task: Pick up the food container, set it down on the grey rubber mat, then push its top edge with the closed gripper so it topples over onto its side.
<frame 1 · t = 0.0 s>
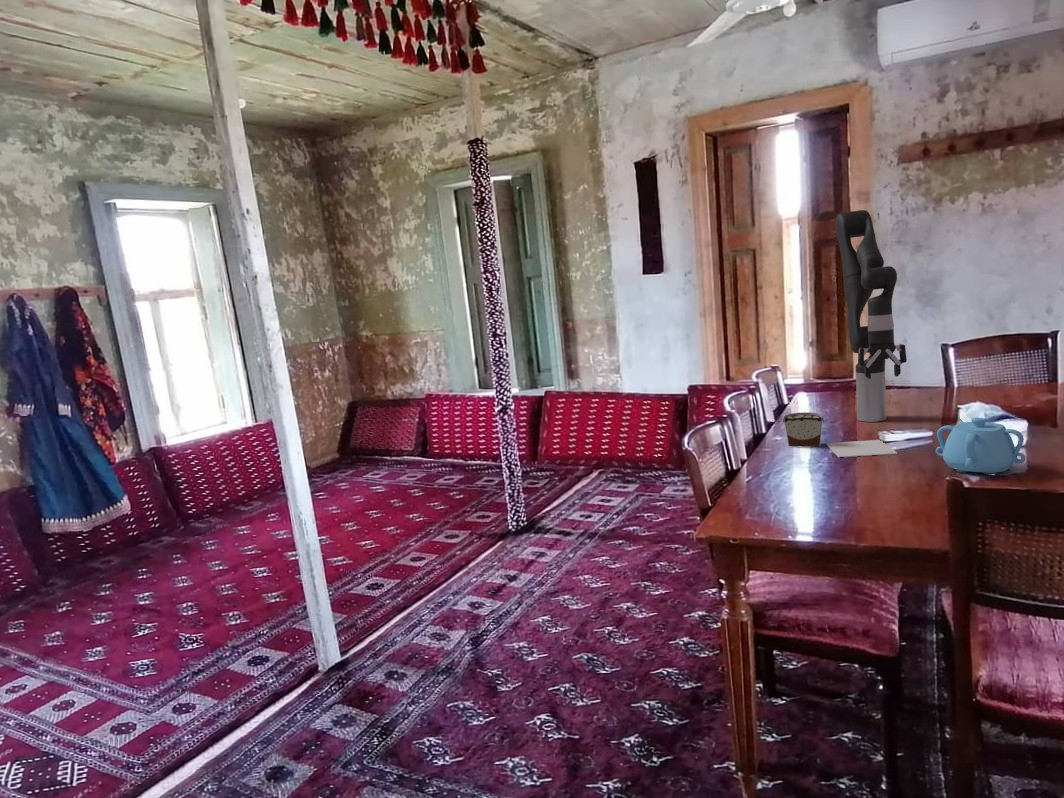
hand: (882, 377, 225), 17 cm above the table, tool pointing down, fingers open, 8 cm apart
food container: (804, 444, 219), on the table
decorative pot: (978, 469, 177), on the table
mat: (860, 449, 206), on the table
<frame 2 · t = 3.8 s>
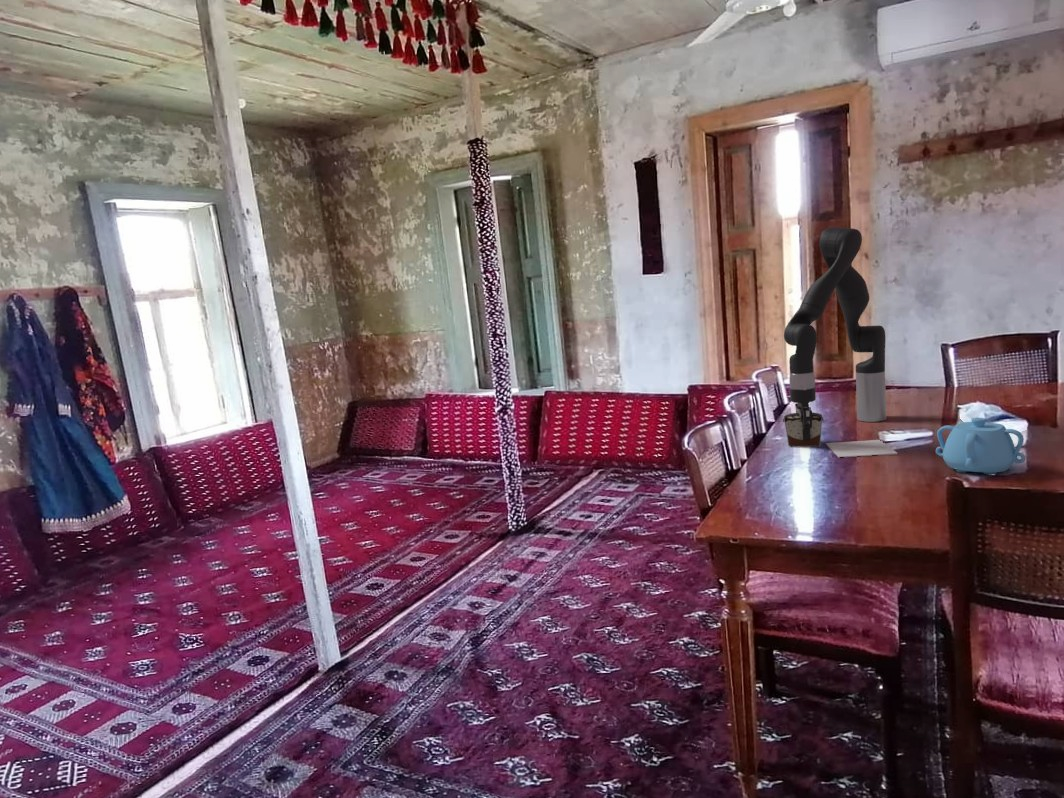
hand: (804, 437, 218), 2 cm above the table, tool pointing down, fingers closed on food container, 5 cm apart
food container: (804, 444, 219), on the table, touching gripper
everything else where it was.
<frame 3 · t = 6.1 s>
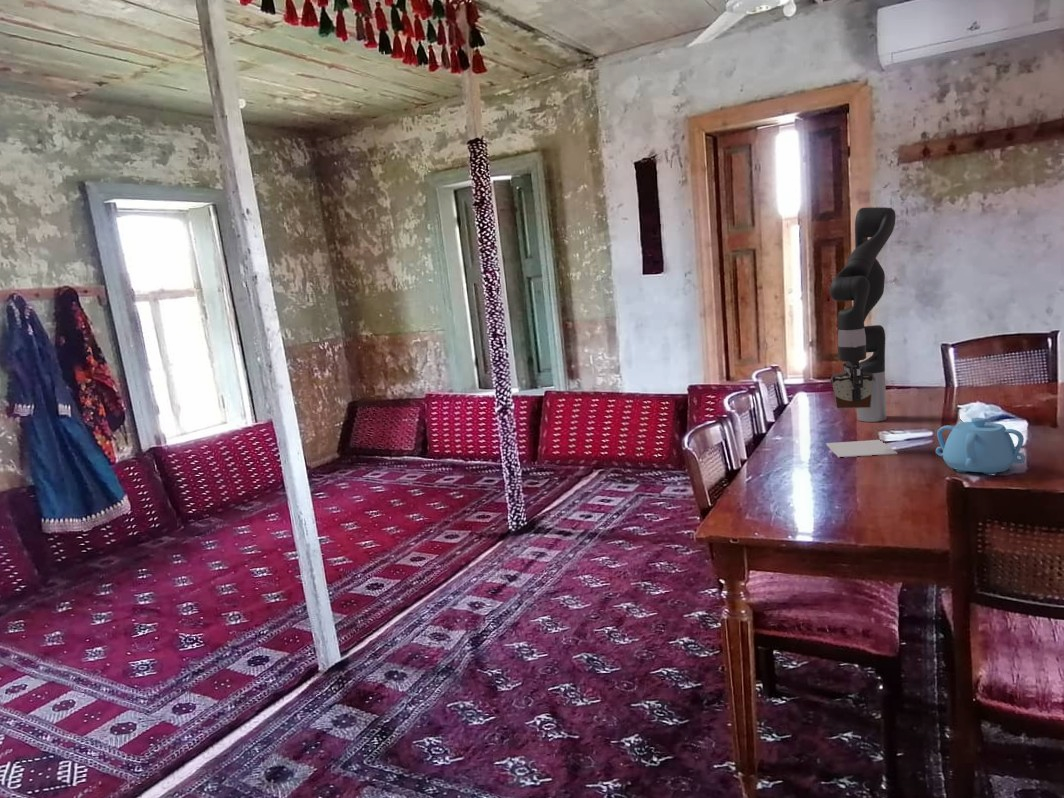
hand: (854, 399, 205), 15 cm above the table, tool pointing down, fingers closed on food container, 5 cm apart
food container: (853, 406, 206), point 13 cm above the table, touching gripper
everything else where it was.
when the fingers open (3 cm above the table, at t = 8.6 s): food container stays where it is, resting on mat.
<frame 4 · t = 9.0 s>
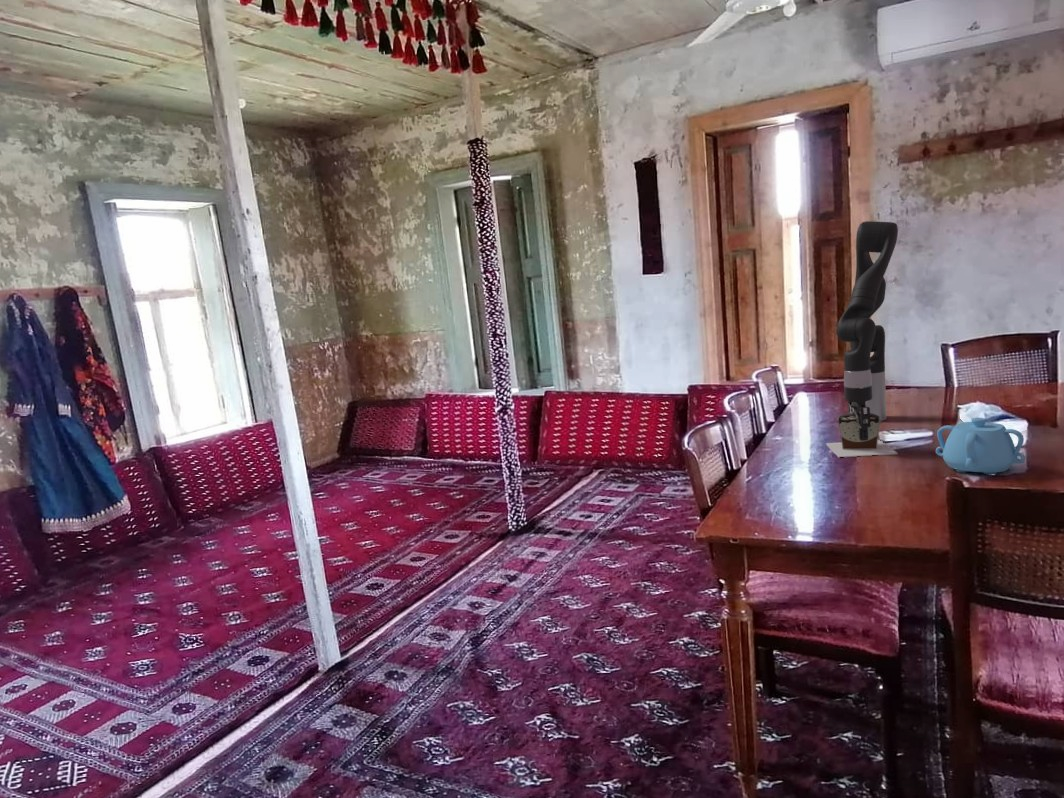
hand: (859, 436, 206), 4 cm above the table, tool pointing down, fingers open, 8 cm apart
food container: (859, 446, 208), resting on mat, touching gripper
everything else where it was.
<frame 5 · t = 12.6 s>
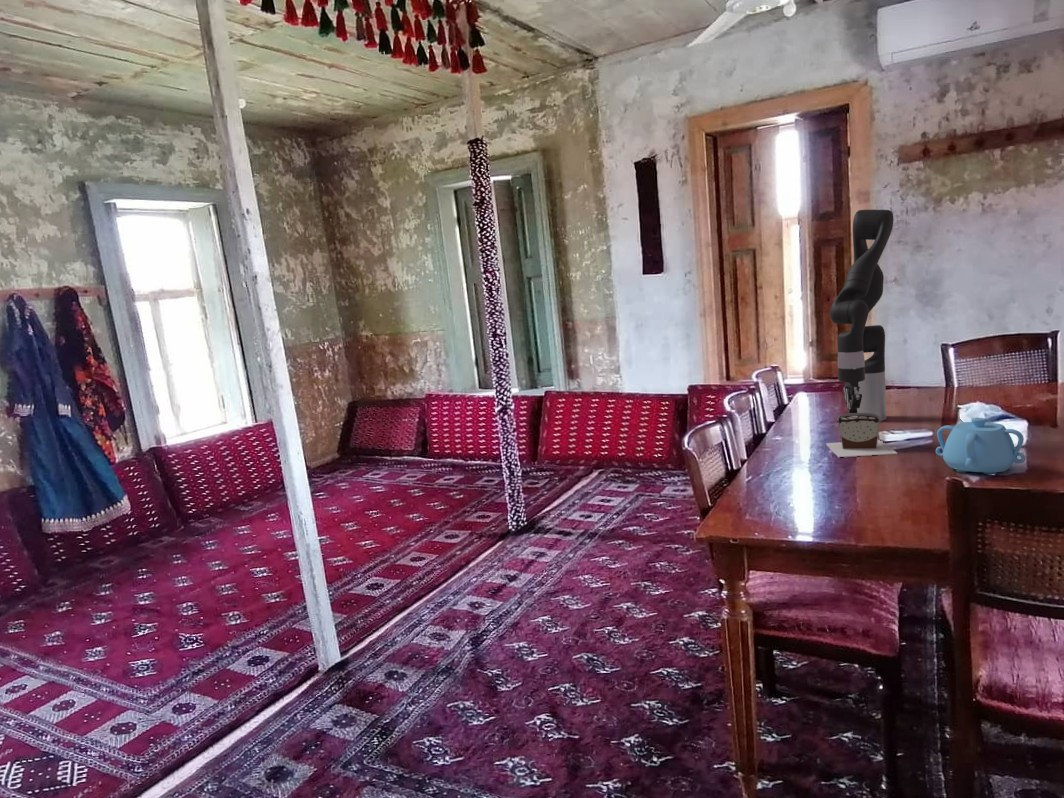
hand: (853, 420, 211), 8 cm above the table, tool pointing down, fingers closed
nothing on the table moved.
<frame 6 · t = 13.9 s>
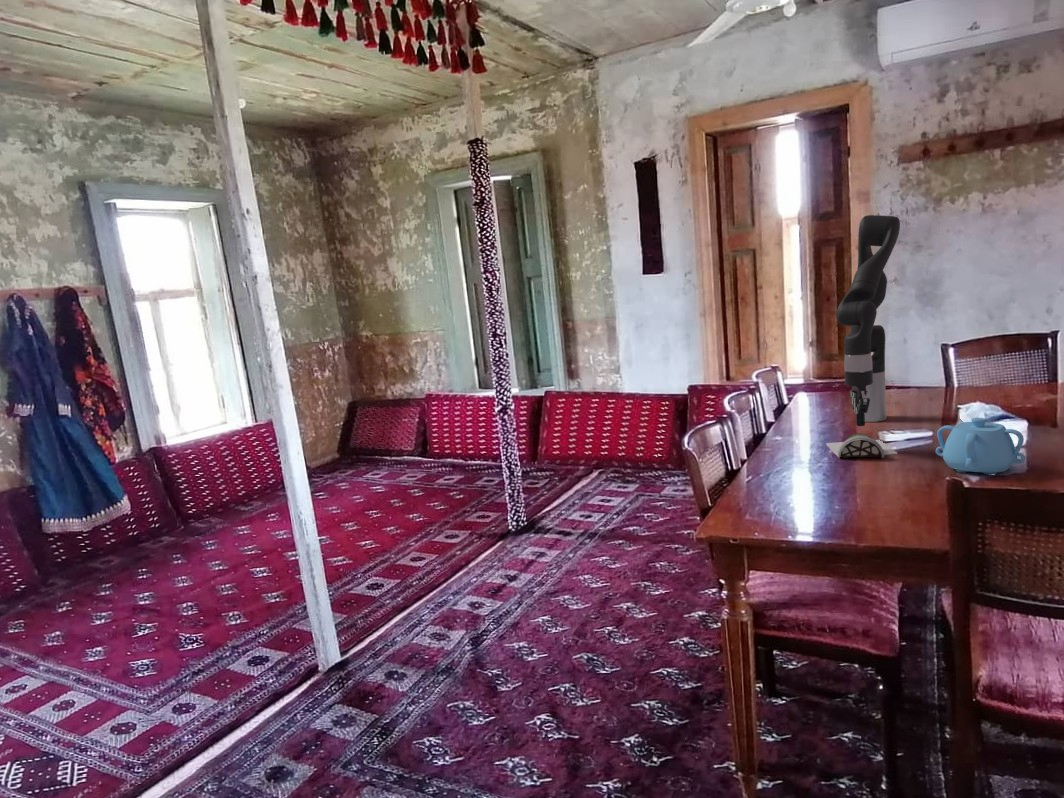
hand: (860, 425, 204), 8 cm above the table, tool pointing down, fingers closed
food container: (859, 439, 205), point 3 cm above the table, touching mat
everything else where it was.
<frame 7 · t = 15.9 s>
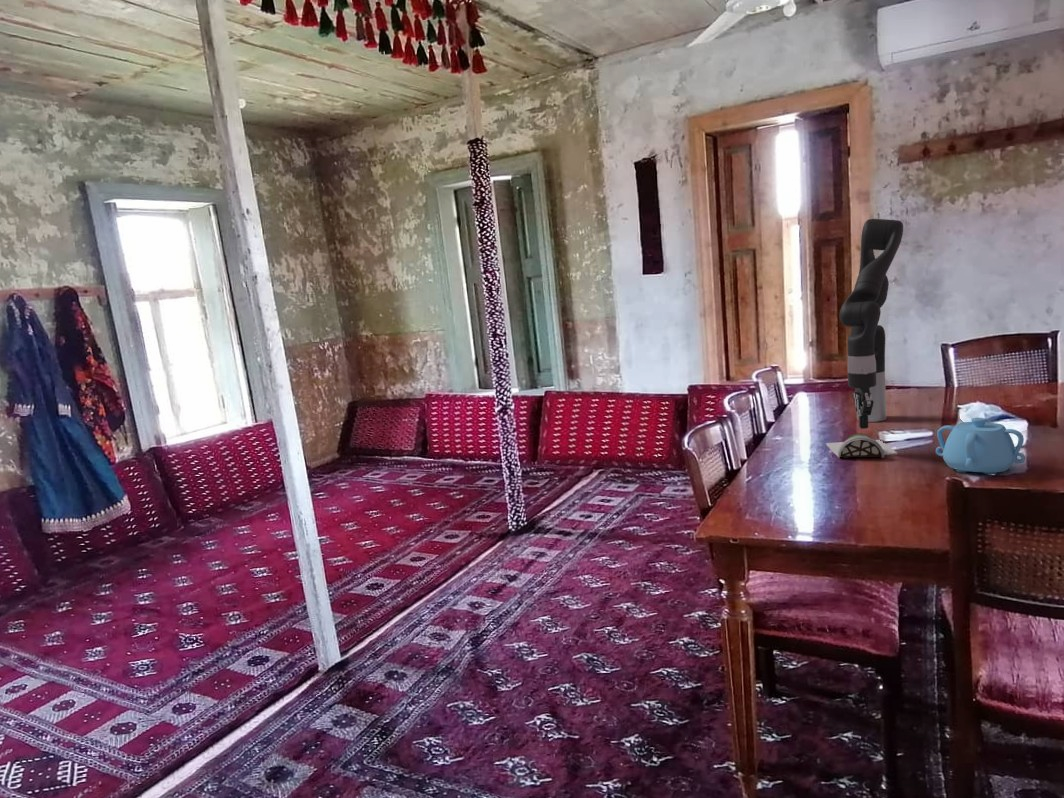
hand: (863, 427, 201), 8 cm above the table, tool pointing down, fingers closed
nothing on the table moved.
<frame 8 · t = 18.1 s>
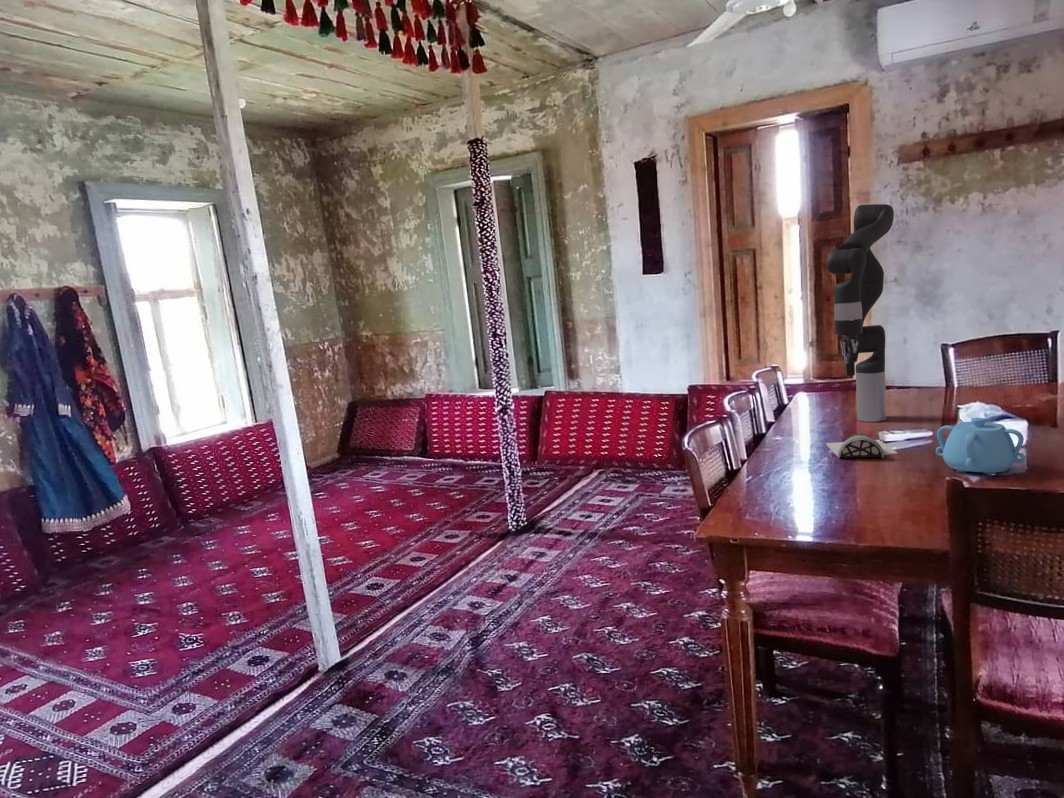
hand: (850, 375, 203), 23 cm above the table, tool pointing down, fingers closed
nothing on the table moved.
at the end: food container tilted 90°; food container inside the target area (6.7 cm from its centre), point 3.5 cm above the table; the gripper is holding nothing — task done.
